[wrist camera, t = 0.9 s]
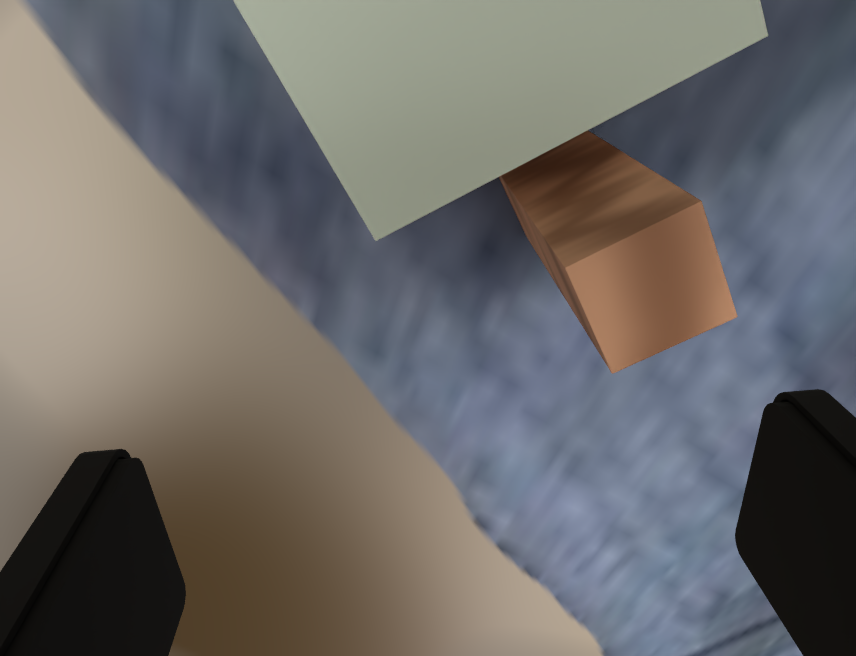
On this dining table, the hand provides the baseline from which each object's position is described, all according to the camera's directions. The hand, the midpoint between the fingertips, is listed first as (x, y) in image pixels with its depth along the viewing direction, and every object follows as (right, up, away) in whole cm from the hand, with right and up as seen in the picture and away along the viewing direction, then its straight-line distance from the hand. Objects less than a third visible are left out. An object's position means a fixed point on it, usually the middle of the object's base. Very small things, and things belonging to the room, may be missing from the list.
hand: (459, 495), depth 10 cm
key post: (+7, +11, +27) cm, 30 cm away
